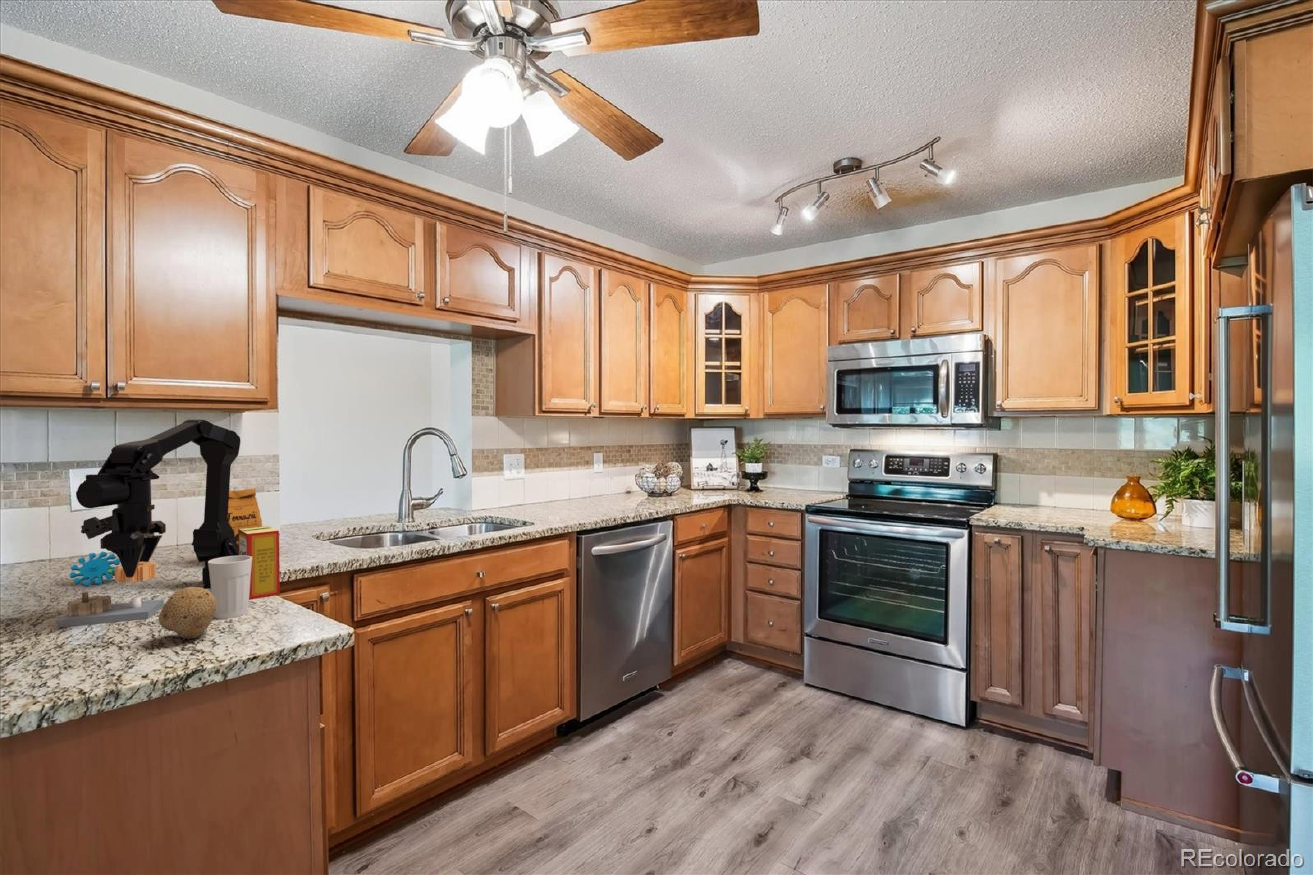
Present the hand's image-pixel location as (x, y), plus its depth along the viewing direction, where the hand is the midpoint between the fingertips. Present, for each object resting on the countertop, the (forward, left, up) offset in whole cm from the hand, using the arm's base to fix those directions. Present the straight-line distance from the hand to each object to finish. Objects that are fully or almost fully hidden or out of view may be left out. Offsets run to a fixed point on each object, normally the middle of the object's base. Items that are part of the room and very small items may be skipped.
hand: (136, 573), depth 137 cm
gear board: (+4, 0, -9) cm, 10 cm away
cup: (-19, +8, -9) cm, 23 cm away
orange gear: (0, 0, -1) cm, 1 cm away
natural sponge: (-15, +23, -9) cm, 29 cm away
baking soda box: (-21, -9, -9) cm, 25 cm away
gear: (+19, -37, -9) cm, 42 cm away
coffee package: (-10, -48, -9) cm, 50 cm away
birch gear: (+8, 0, -7) cm, 11 cm away
